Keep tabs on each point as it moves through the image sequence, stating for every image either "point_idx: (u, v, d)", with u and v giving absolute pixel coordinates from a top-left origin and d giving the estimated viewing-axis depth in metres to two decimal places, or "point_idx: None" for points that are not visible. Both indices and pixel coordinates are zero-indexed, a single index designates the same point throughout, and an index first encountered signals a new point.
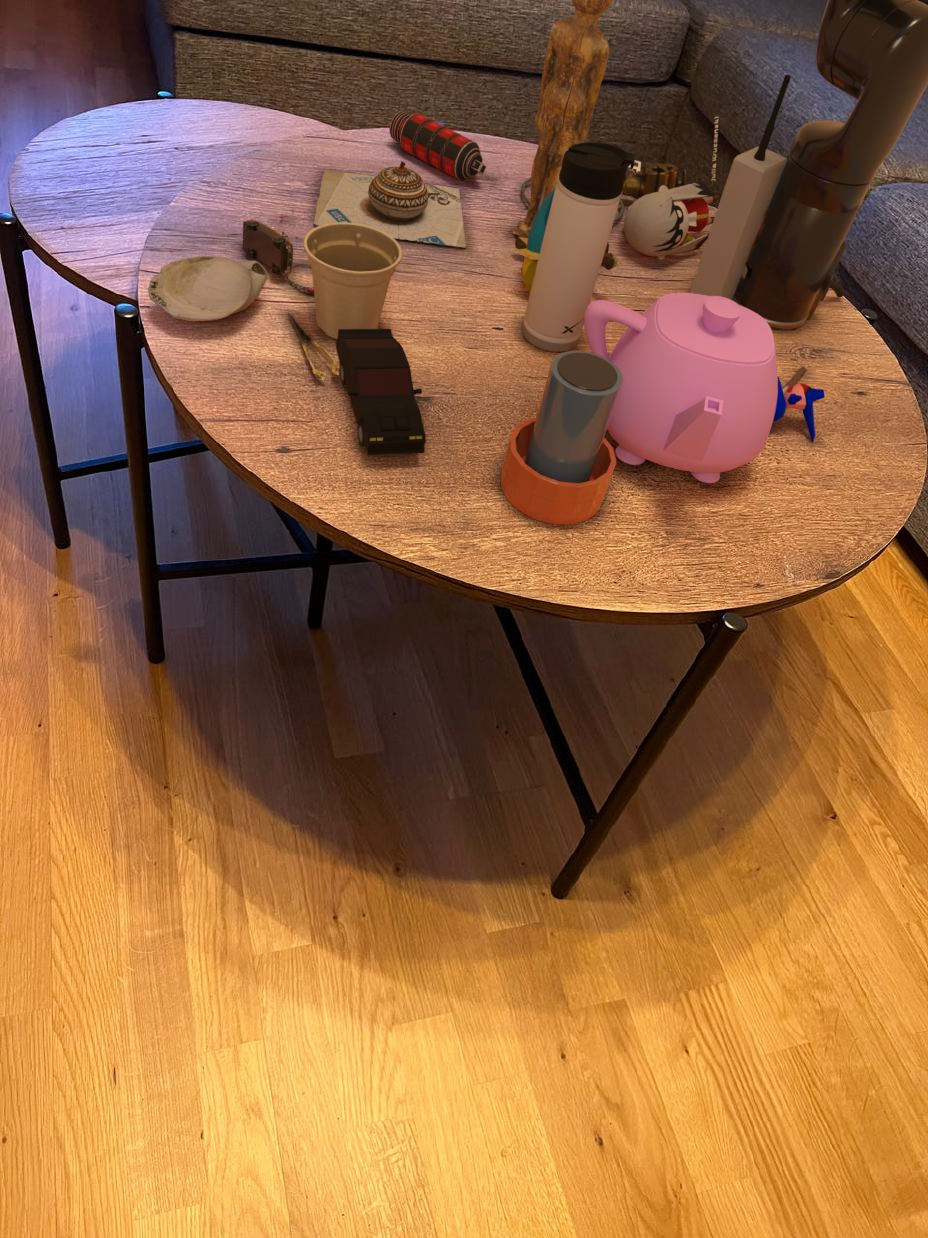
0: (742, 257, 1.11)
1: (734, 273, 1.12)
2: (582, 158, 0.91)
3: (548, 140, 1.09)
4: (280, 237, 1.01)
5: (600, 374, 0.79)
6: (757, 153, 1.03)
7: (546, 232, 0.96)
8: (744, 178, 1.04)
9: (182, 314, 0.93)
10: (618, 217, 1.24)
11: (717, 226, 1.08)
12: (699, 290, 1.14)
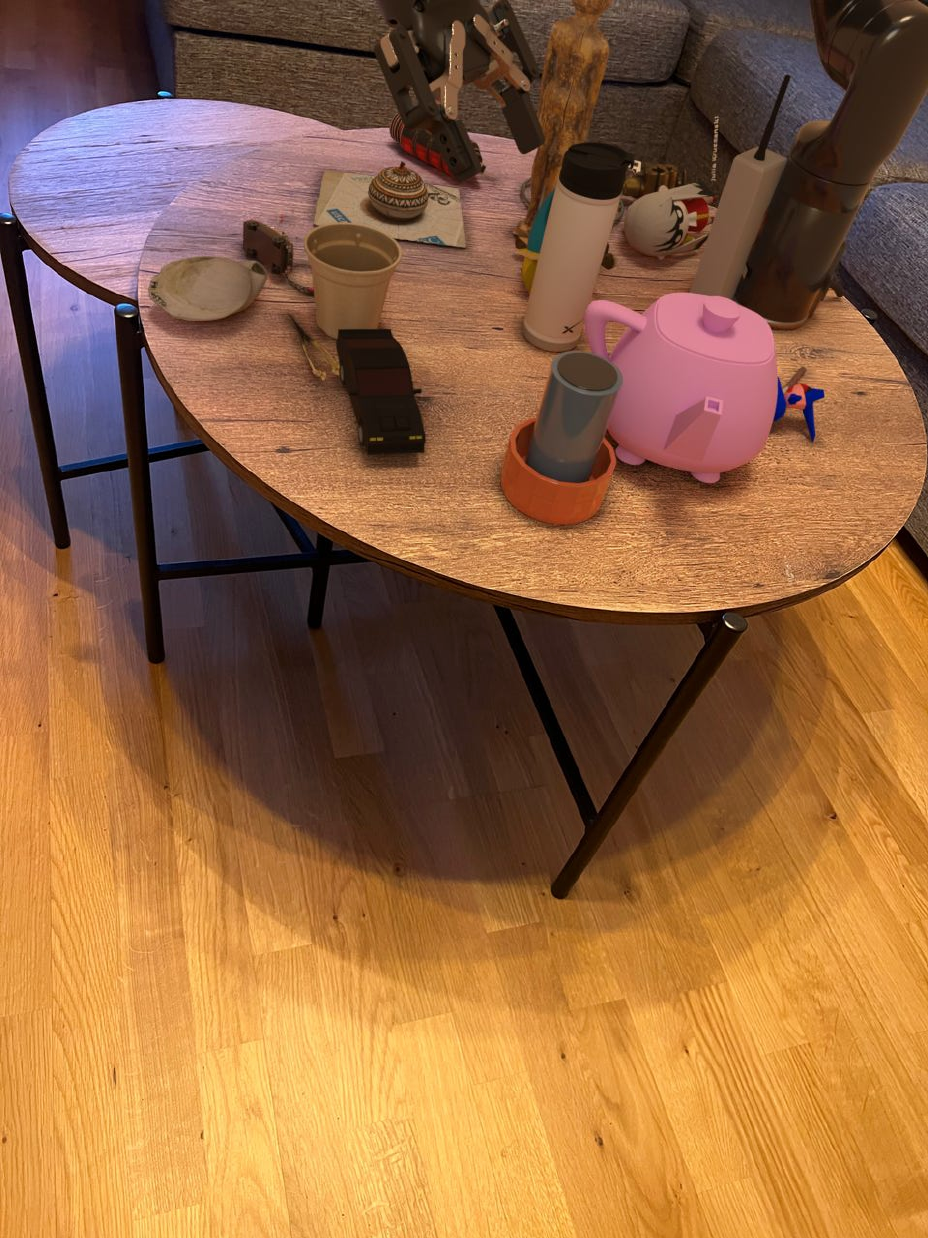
0: (742, 257, 1.11)
1: (734, 273, 1.12)
2: (582, 158, 0.91)
3: (548, 140, 1.09)
4: (280, 237, 1.01)
5: (600, 374, 0.79)
6: (757, 153, 1.03)
7: (546, 232, 0.96)
8: (744, 178, 1.04)
9: (182, 314, 0.93)
10: (618, 217, 1.24)
11: (717, 226, 1.09)
12: (699, 290, 1.14)
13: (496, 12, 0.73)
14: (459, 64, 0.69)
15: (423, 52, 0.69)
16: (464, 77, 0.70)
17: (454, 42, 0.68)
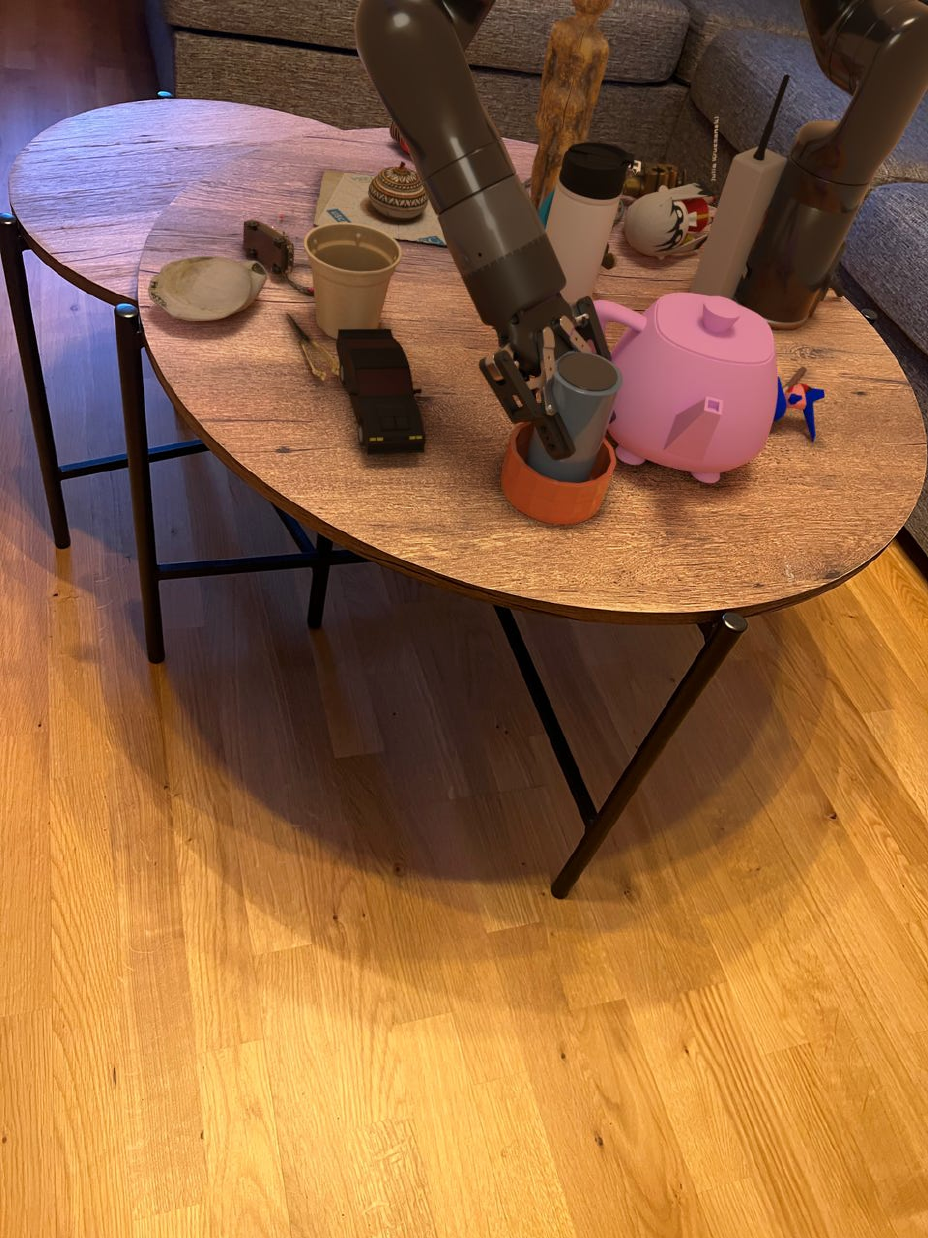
0: (742, 257, 1.11)
1: (734, 273, 1.12)
2: (582, 158, 0.91)
3: (548, 140, 1.09)
4: (281, 237, 1.02)
5: (600, 374, 0.79)
6: (756, 153, 1.03)
7: (546, 232, 0.96)
8: (743, 178, 1.04)
9: (182, 314, 0.93)
10: (618, 217, 1.24)
11: (716, 226, 1.09)
12: (699, 289, 1.14)
13: (579, 307, 0.83)
14: (548, 364, 0.78)
15: (518, 355, 0.79)
16: None
17: (544, 347, 0.78)
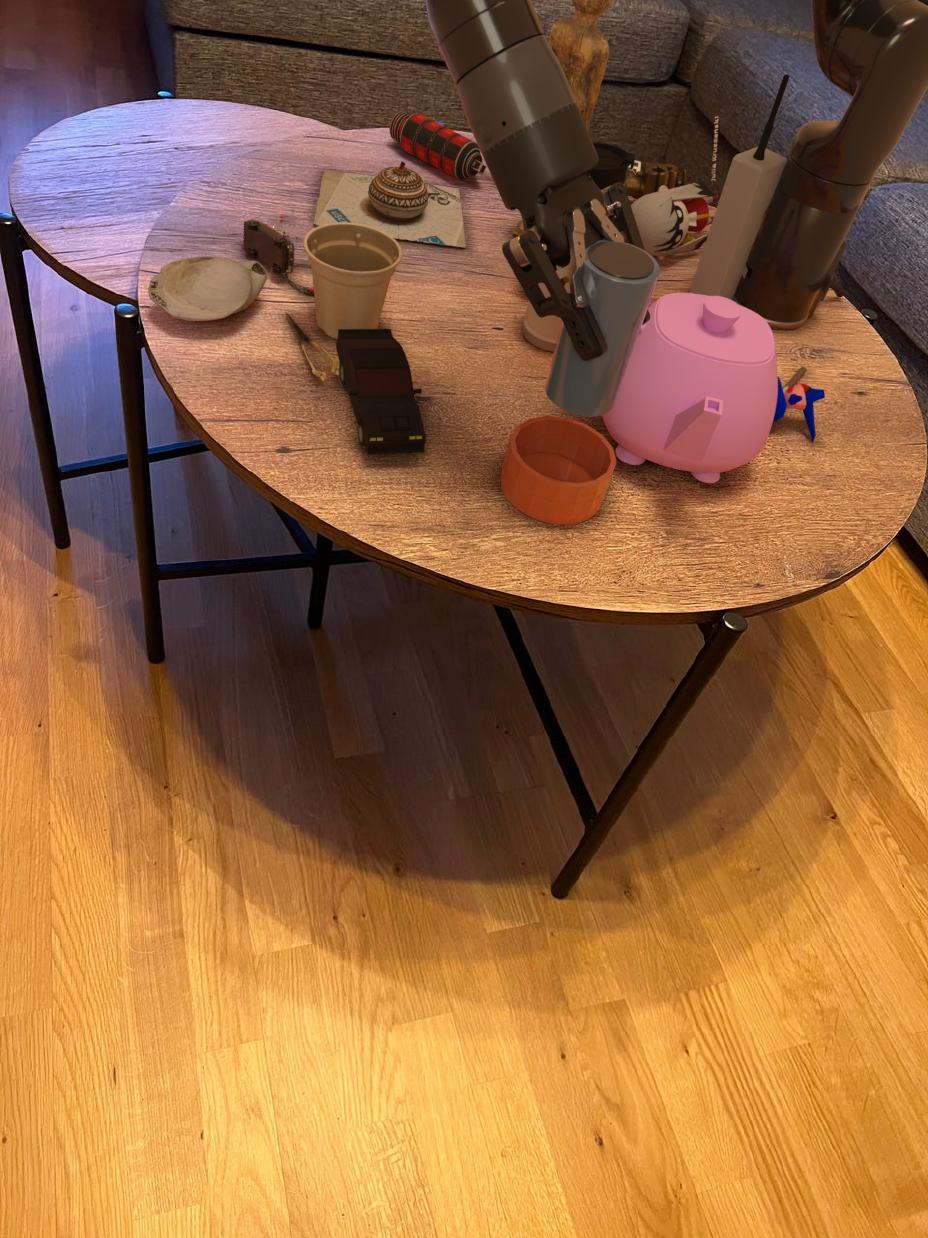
0: (742, 257, 1.11)
1: (734, 272, 1.12)
2: None
3: None
4: (281, 237, 1.02)
5: (635, 263, 0.72)
6: (756, 152, 1.03)
7: None
8: (743, 178, 1.04)
9: (182, 314, 0.93)
10: None
11: (716, 225, 1.09)
12: (699, 289, 1.14)
13: (610, 194, 0.76)
14: (578, 250, 0.71)
15: (545, 242, 0.72)
16: None
17: (574, 230, 0.70)
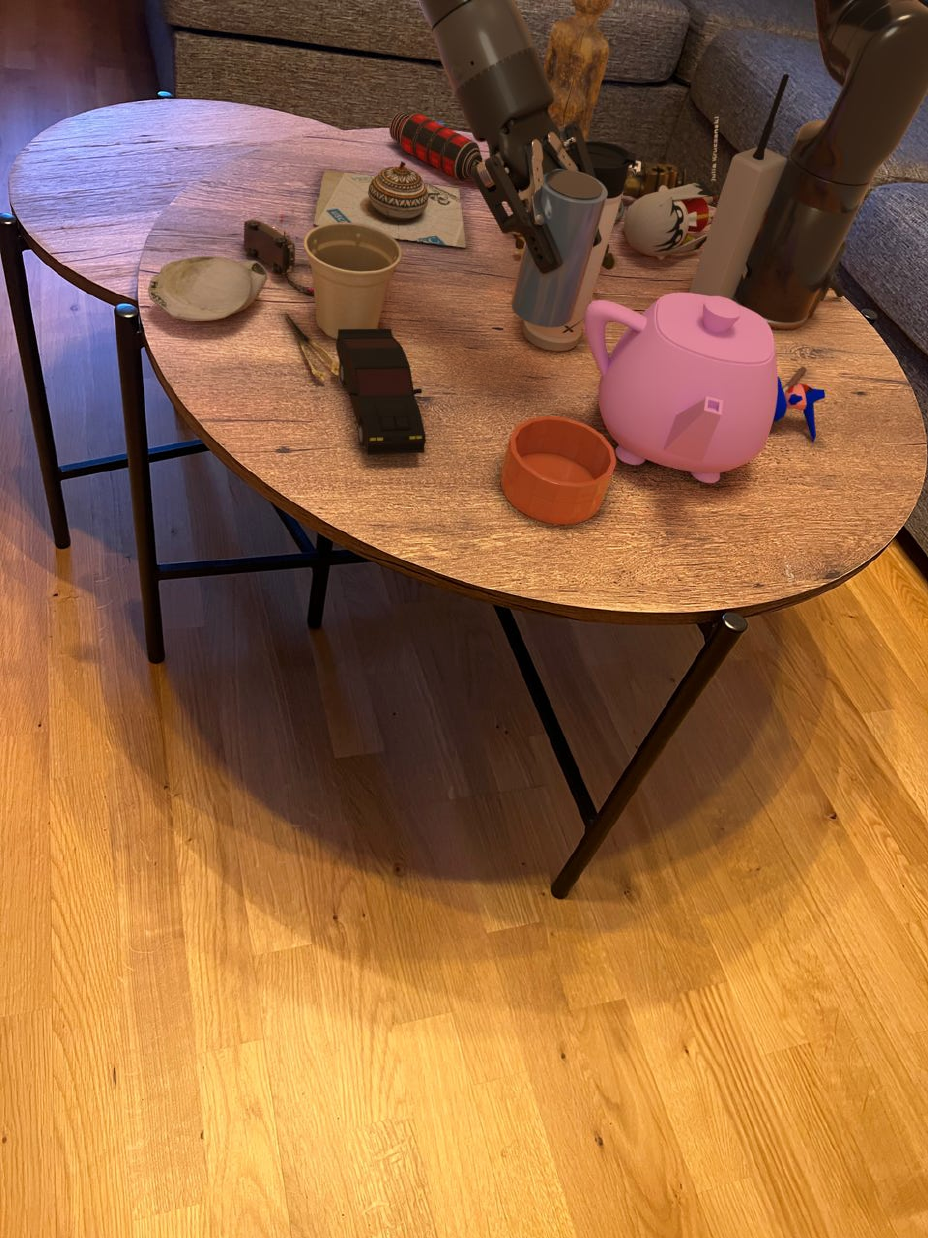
0: (741, 257, 1.11)
1: (733, 272, 1.12)
2: None
3: None
4: (282, 237, 1.02)
5: (586, 187, 0.83)
6: (756, 152, 1.03)
7: None
8: (742, 177, 1.04)
9: (182, 314, 0.93)
10: (618, 217, 1.24)
11: (716, 225, 1.09)
12: (698, 289, 1.14)
13: (567, 131, 0.87)
14: (537, 175, 0.82)
15: (509, 168, 0.83)
16: None
17: (533, 157, 0.82)
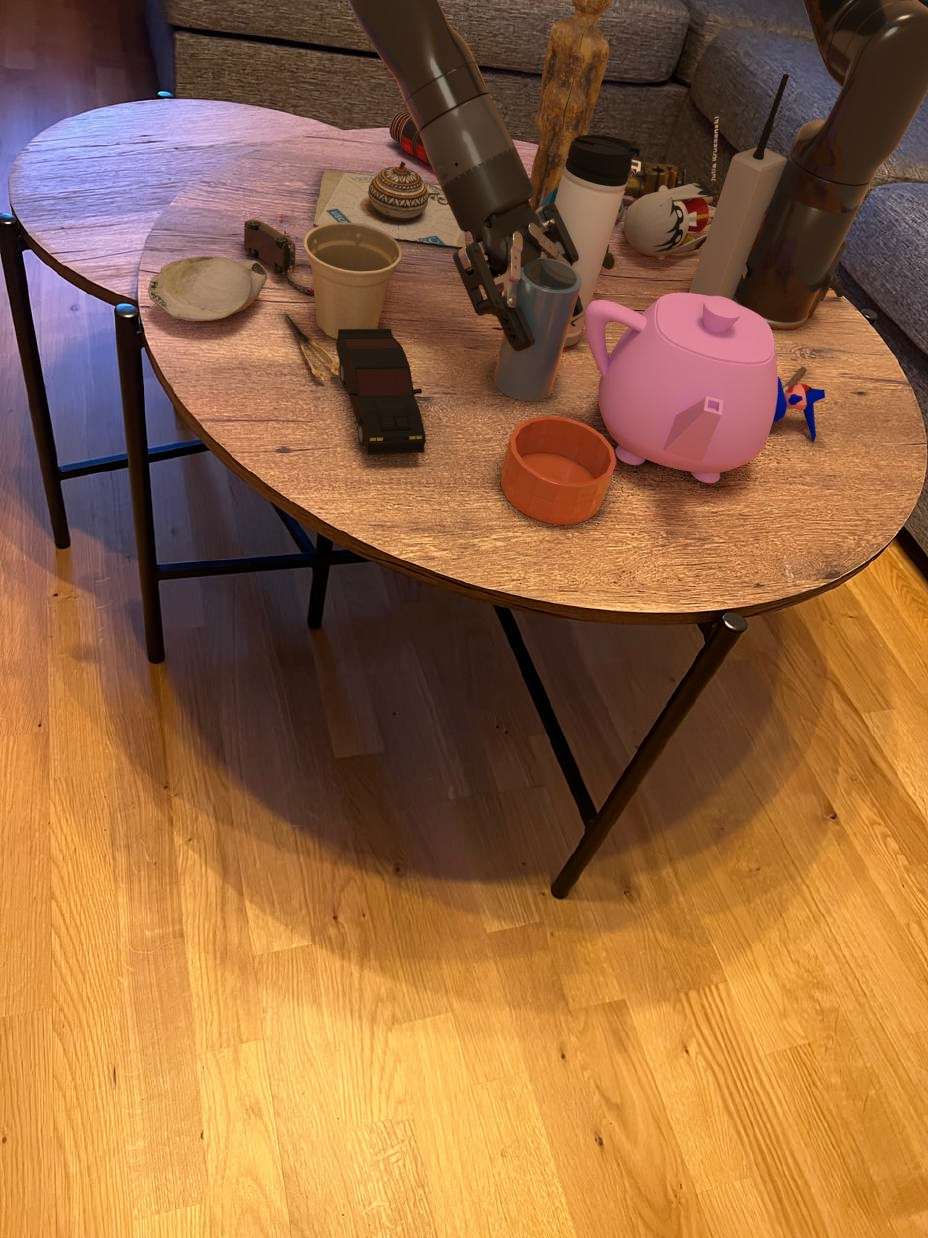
0: (741, 257, 1.11)
1: (733, 272, 1.12)
2: (589, 147, 0.92)
3: (548, 140, 1.09)
4: (282, 236, 1.02)
5: (561, 276, 0.90)
6: (756, 152, 1.03)
7: None
8: (742, 177, 1.04)
9: (182, 314, 0.93)
10: (618, 217, 1.24)
11: (716, 225, 1.09)
12: (698, 289, 1.14)
13: (545, 213, 0.93)
14: (518, 264, 0.88)
15: (490, 254, 0.89)
16: None
17: (514, 248, 0.88)
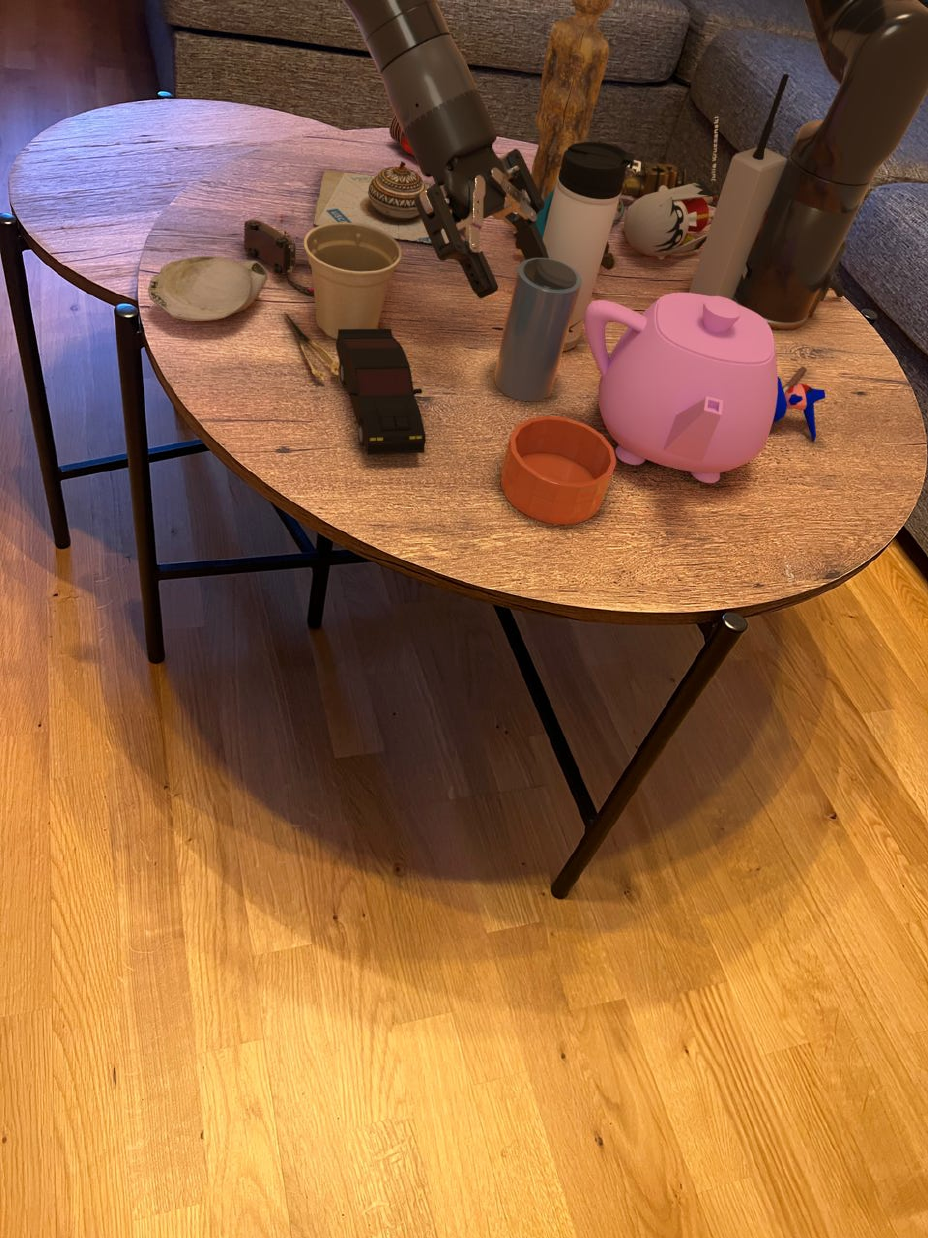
0: (741, 257, 1.11)
1: (733, 272, 1.12)
2: (582, 158, 0.91)
3: (548, 140, 1.09)
4: (282, 237, 1.02)
5: (561, 276, 0.90)
6: (756, 152, 1.03)
7: (545, 231, 0.96)
8: (742, 177, 1.04)
9: (182, 314, 0.93)
10: (618, 217, 1.24)
11: (716, 225, 1.09)
12: (698, 288, 1.14)
13: (509, 160, 0.92)
14: (480, 209, 0.88)
15: (452, 199, 0.88)
16: (484, 217, 0.89)
17: (476, 192, 0.87)
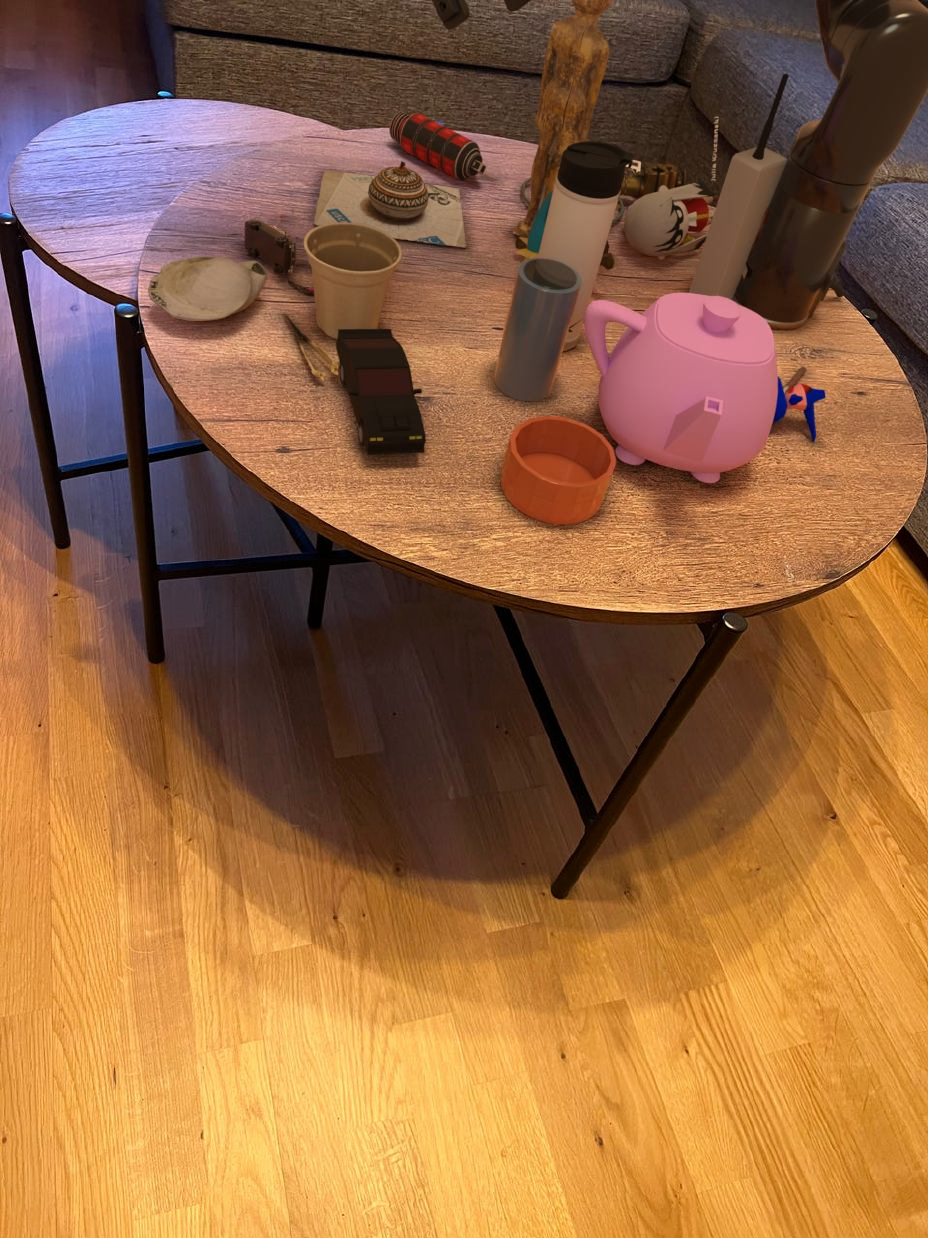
0: (741, 257, 1.11)
1: (733, 272, 1.12)
2: (580, 157, 0.91)
3: (548, 140, 1.09)
4: (283, 236, 1.02)
5: (561, 276, 0.90)
6: (755, 152, 1.03)
7: (545, 231, 0.96)
8: (742, 177, 1.04)
9: (182, 314, 0.93)
10: (618, 217, 1.24)
11: (715, 224, 1.09)
12: (698, 288, 1.14)
13: None
14: None
15: None
16: None
17: None
